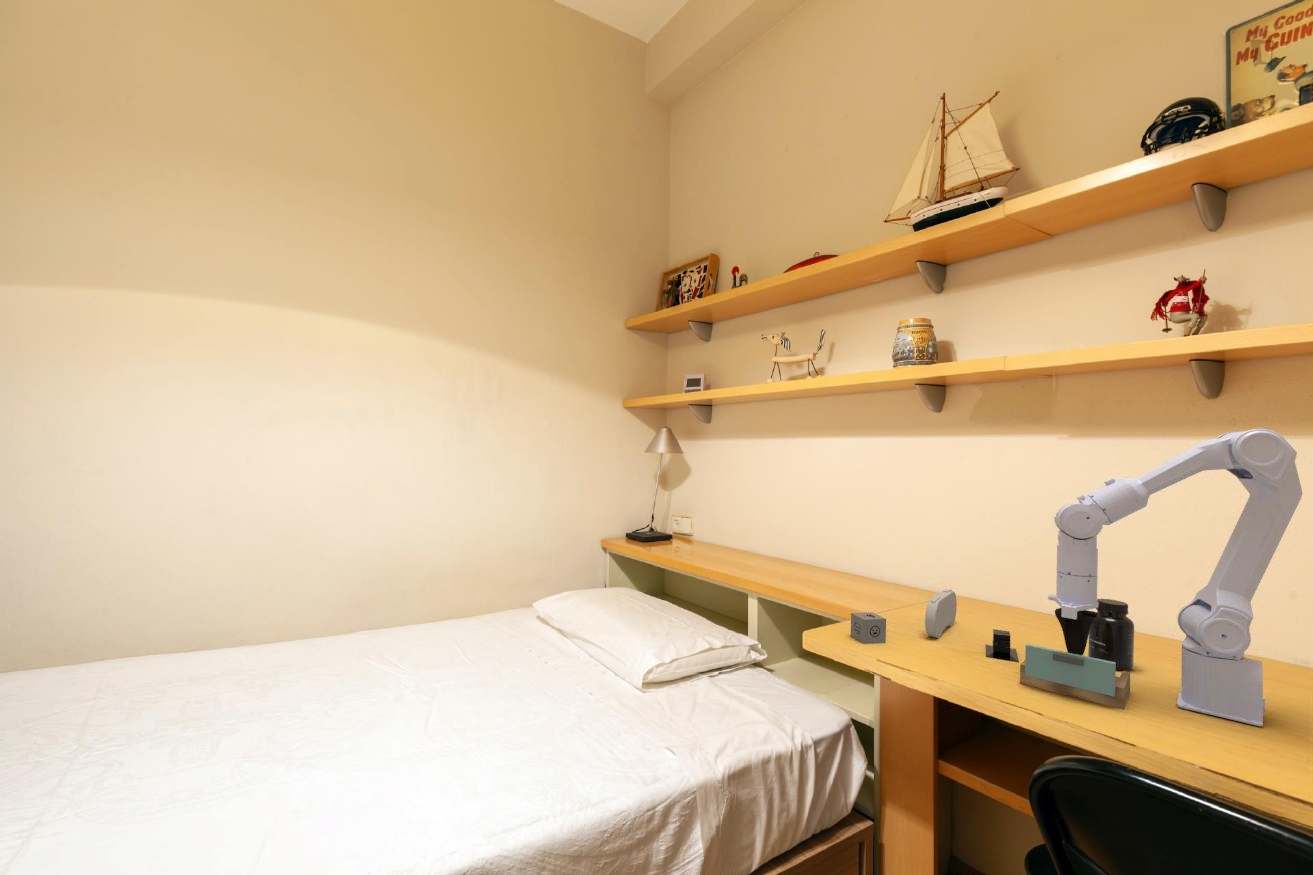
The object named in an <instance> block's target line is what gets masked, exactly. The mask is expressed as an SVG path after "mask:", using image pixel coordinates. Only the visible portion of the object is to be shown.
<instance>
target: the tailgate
mask: <svg viewBox="0 0 1313 875" xmlns="http://www.w3.org/2000/svg"><path fill="white" fill-rule="evenodd" d="M1024 654H1025V658H1024V660H1025V675H1027V676H1031V677H1035V678H1039V679H1043V680H1047V681H1052V682H1056V683H1060V684H1064V685H1068V686H1072V687H1077V688H1081V689H1085V690H1089V691H1093V692H1097V693H1102V694H1106V695H1110V696H1114V697H1115V677H1117V676H1116V671H1117V670H1116V662H1111V661H1106V660H1101V659H1097V658H1092V657H1088V656H1087V655H1077V654H1073V653H1068V651H1067V652H1066V651H1061V650H1058V649H1053V648H1047V647H1044V646H1039V645H1035V644H1030V643H1029V644H1028V643H1027V644H1025V653H1024Z"/></svg>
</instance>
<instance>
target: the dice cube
mask: <svg viewBox="0 0 1313 875" xmlns="http://www.w3.org/2000/svg"><path fill="white" fill-rule="evenodd" d="M850 637H851V638H853V639H854V640H856V641H858V642H859V643H861V644H863V645H873V644H886V643H887V618H886V617H883V616H881V615H879V614H877V613H875V612H871V611H870V612H850Z"/></svg>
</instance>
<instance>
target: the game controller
mask: <svg viewBox="0 0 1313 875" xmlns="http://www.w3.org/2000/svg"><path fill="white" fill-rule="evenodd" d="M926 605H927V606H926V609H925V615H924V616H925V617H924V627H925V633H926V635H927V636H928V637H930V638H934V639H939V638H940V637H941V636H942V635H943V631H944V630H945V629H946V628H947V627H950V628H951V627H953V626H954V624H955V622H956V618H957V609H958V608H957V606H958V604H957V596H956V592H955V591H954V590H952V589H948V588H945V589H943V590H942V591H940V592H939V593H937V594H935V595H934V596H933V597H931V598H930V599H929V600H928V602H927V604H926Z"/></svg>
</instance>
